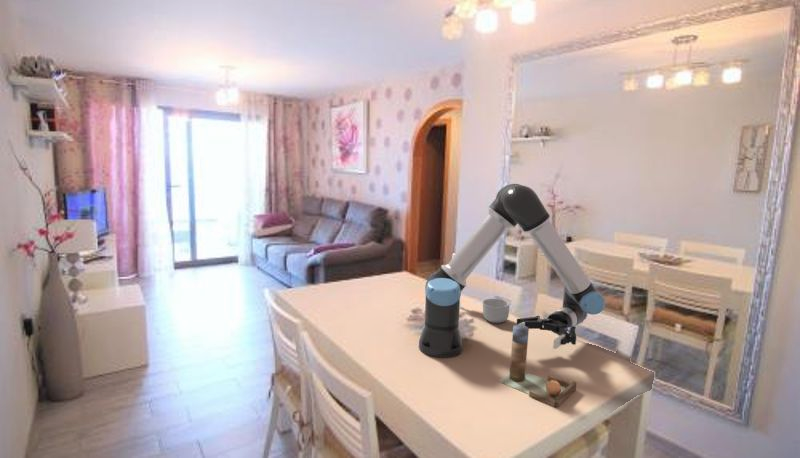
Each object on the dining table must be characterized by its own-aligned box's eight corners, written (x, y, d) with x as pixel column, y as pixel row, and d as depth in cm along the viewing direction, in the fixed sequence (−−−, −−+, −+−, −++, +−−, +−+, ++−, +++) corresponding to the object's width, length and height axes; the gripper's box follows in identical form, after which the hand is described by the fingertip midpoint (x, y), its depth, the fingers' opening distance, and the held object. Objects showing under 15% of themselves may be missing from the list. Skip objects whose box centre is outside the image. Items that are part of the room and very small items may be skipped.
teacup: (509, 326, 166) (510, 307, 165) (481, 324, 168) (482, 305, 167) (507, 314, 179) (508, 296, 178) (481, 312, 181) (482, 294, 180)
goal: (497, 382, 122) (497, 374, 122) (518, 368, 132) (518, 360, 131) (557, 408, 110) (558, 399, 110) (575, 390, 119) (576, 382, 119)
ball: (554, 393, 113) (542, 393, 116) (564, 397, 114) (552, 397, 117) (554, 378, 115) (543, 378, 118) (564, 382, 116) (552, 382, 119)
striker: (510, 381, 123) (514, 330, 120) (508, 374, 127) (512, 324, 125) (526, 382, 122) (530, 331, 120) (523, 375, 127) (527, 325, 124)
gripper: (597, 342, 138) (572, 362, 123) (527, 321, 155) (498, 336, 140) (600, 320, 137) (574, 338, 122) (529, 301, 154) (499, 315, 139)
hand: (533, 337), depth 131 cm, fingers open, 13 cm apart
